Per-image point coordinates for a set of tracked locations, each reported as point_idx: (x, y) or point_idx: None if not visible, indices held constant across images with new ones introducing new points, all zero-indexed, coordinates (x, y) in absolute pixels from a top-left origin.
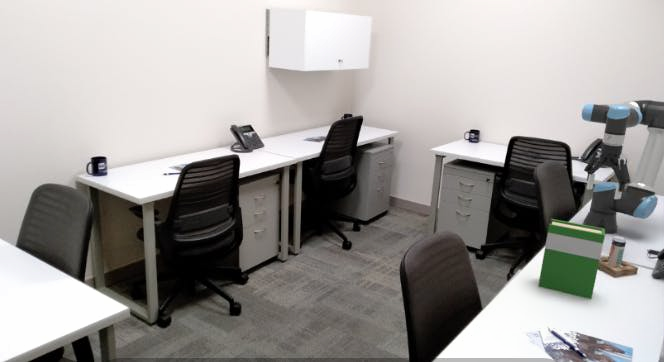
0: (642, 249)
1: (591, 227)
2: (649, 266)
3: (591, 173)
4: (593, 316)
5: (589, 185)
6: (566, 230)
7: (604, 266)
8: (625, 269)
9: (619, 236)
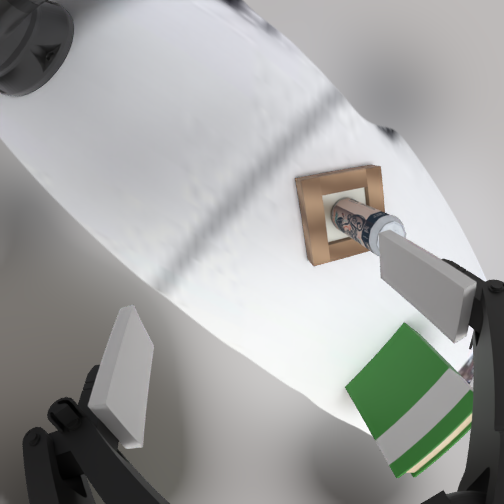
0: (206, 5)
1: (462, 421)
2: (330, 83)
3: (107, 437)
4: (445, 351)
5: (146, 360)
6: (437, 453)
7: (356, 253)
8: (383, 211)
9: (381, 229)
